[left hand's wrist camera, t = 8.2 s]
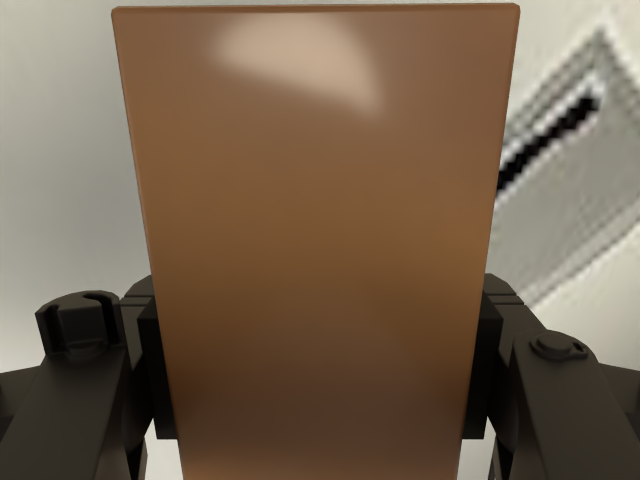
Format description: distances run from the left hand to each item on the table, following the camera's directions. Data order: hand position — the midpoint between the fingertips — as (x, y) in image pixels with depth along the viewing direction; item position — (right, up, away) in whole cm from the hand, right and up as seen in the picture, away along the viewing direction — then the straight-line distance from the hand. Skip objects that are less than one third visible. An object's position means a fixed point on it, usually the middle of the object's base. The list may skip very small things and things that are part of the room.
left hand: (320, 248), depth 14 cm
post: (0, -24, +10) cm, 26 cm away
